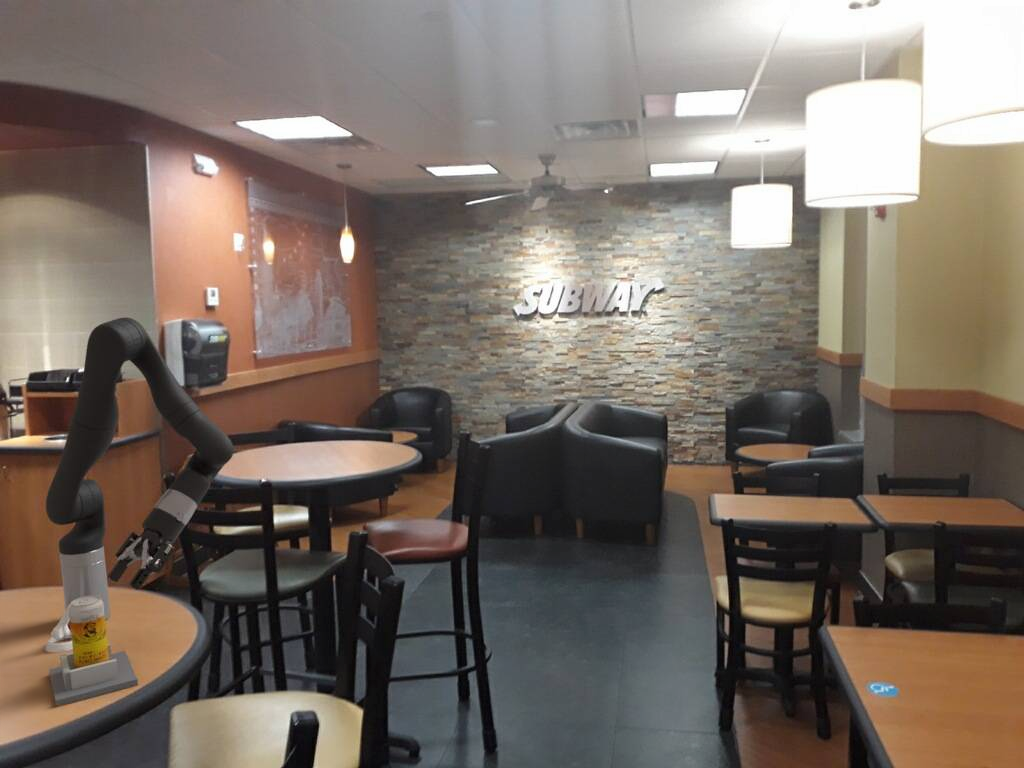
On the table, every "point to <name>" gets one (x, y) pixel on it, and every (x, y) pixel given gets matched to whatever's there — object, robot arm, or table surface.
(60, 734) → the table surface
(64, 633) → the hook
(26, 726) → the table surface
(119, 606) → the table surface
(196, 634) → the table surface
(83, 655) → the beer can
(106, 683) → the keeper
